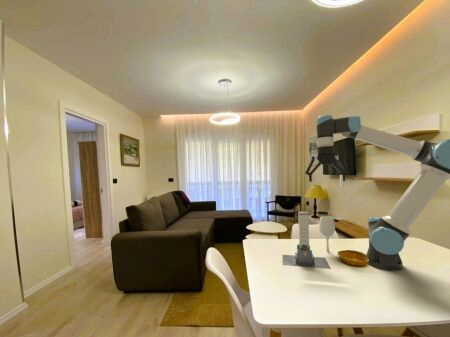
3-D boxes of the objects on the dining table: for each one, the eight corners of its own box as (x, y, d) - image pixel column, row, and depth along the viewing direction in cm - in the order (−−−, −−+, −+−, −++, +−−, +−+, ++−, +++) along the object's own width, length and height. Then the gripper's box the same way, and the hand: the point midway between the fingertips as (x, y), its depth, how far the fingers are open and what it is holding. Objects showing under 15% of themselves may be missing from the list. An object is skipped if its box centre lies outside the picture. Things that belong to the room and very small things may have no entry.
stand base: (325, 259, 116) (324, 241, 117) (330, 271, 103) (330, 250, 103) (282, 256, 122) (282, 239, 122) (282, 267, 108) (282, 247, 109)
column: (308, 248, 114) (307, 211, 115) (310, 251, 109) (308, 213, 110) (298, 247, 116) (297, 211, 116) (299, 251, 110) (298, 213, 111)
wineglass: (319, 256, 122) (318, 218, 123) (319, 250, 130) (318, 215, 131) (337, 257, 119) (335, 219, 119) (335, 252, 127) (334, 216, 127)
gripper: (350, 145, 112) (351, 187, 112) (299, 148, 119) (300, 187, 118) (355, 144, 105) (356, 188, 105) (300, 146, 111) (301, 188, 111)
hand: (326, 188), depth 111 cm, fingers open, 13 cm apart
